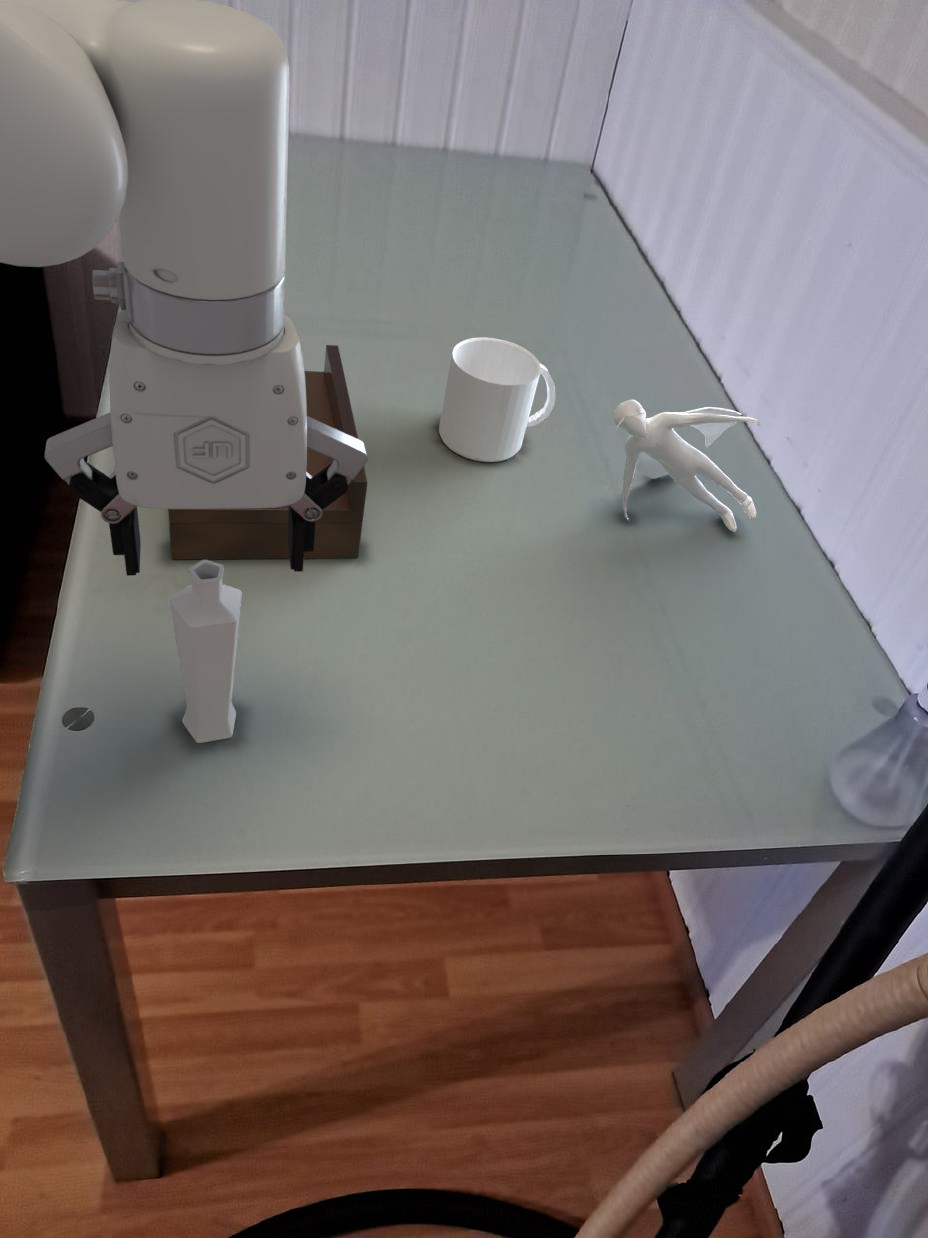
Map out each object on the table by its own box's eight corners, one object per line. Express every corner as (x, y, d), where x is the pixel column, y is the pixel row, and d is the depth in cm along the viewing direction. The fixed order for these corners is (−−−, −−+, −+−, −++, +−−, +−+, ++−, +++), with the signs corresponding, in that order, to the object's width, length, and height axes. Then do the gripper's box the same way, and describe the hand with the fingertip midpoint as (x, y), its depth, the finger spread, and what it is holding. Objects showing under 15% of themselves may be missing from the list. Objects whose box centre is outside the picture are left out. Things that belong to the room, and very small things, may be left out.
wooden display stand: (171, 559, 81) (166, 479, 76) (172, 413, 96) (168, 336, 90) (358, 558, 86) (367, 482, 80) (331, 418, 100) (338, 345, 95)
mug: (443, 460, 98) (458, 381, 92) (433, 411, 105) (447, 333, 98) (555, 467, 101) (577, 390, 95) (539, 418, 107) (558, 343, 101)
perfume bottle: (212, 759, 68) (209, 608, 58) (167, 726, 69) (156, 573, 59) (257, 721, 71) (261, 571, 61) (212, 690, 72) (209, 539, 62)
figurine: (783, 420, 100) (670, 301, 89) (816, 487, 93) (697, 367, 81) (662, 507, 108) (544, 407, 96) (684, 575, 100) (558, 476, 89)
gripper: (6, 331, 42) (60, 605, 54) (391, 345, 47) (363, 596, 59) (25, 254, 48) (70, 520, 59) (371, 273, 52) (348, 518, 64)
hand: (216, 558), depth 59 cm, fingers open, 9 cm apart
